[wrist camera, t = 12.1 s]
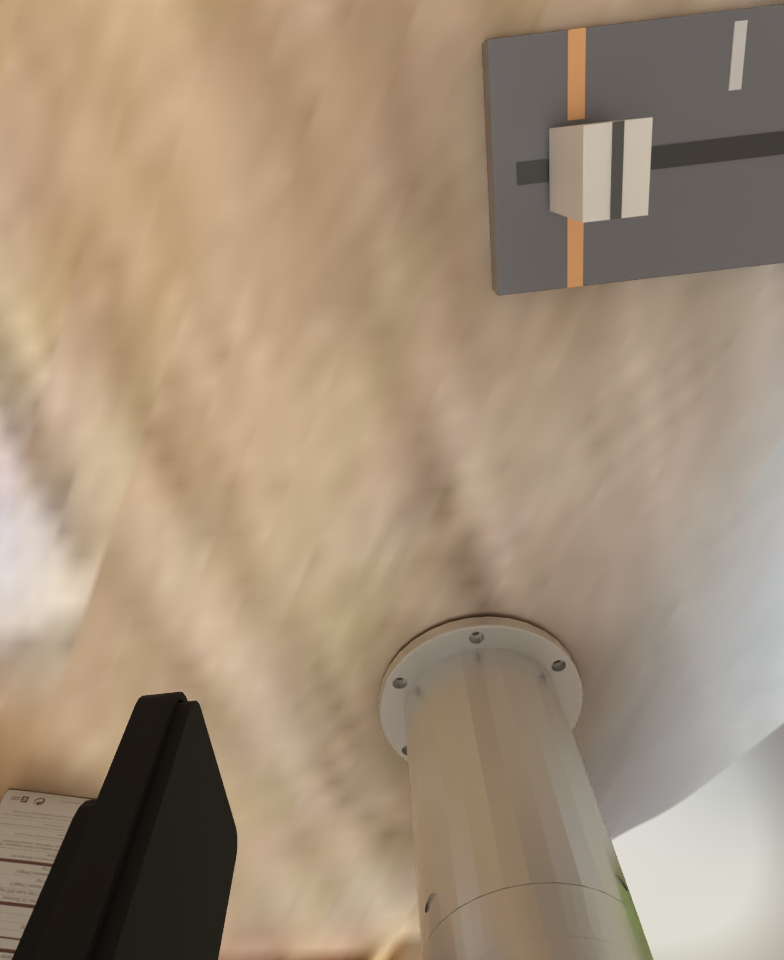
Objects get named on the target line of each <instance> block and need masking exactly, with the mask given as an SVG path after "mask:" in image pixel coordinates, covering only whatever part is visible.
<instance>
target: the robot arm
mask: <svg viewBox="0 0 784 960" xmlns="http://www.w3.org/2000/svg"><path fill="white" fill-rule="evenodd" d="M582 703H583V690H582V682H581V679H580V676H579V674H578V671H577V668H576V666H575V664H574V662H573V660H572V658H571V656H570V654H569V653H568V651H567V650H566V649H565V648H564V647H563V646H562V645H561V644H560V642H559V641H558V640H556V639H555V638H554V637H552V636H551V635H549V634H548V633H547V632H545V631H544V630H542V629H540V628H537V627H535V626H533V625H531V624H529V623H526V622H522V621H518V620H514V619H510V618H501V617H490V616H488V617H474V618H466V619H462V620H457V621H453V622H449V623H446V624H444V625H441V626H439V627H436V628H434V629H431V630H429V631H427V632H426V633H424V634H422V635H421V636H419V637H418V638H416V639H414V640H413V641H412V642H411V643H409V644H408V645H407V646H406V647H405V648H404V649H403V650H401V651H400V652H399V654H398V655H397V656H396V657H395V659H394V660H393V661H392V663H391V664H390V665H389V667H388V669H387V671H386V673H385V675H384V677H383V679H382V683H381V688H380V692H379V716H380V723H381V728H382V730H383V732H384V735H385V737H386V739H387V741H388V742H389V744H390V745H391V746H392V748H393V749H394V751H395V752H396V753H397V754H398V755H399V756H401V757H402V758H403V759H404V760H405V761H406V762H407V763H408V772H409V785H410V799H411V813H412V826H413V840H414V854H415V867H416V881H417V895H418V908H419V922H420V936H421V949H422V960H653V957H652V954H651V952H650V949H649V946H648V943H647V940H646V938H645V935H644V932H643V929H642V926H641V923H640V921H639V918H638V915H637V912H636V909H635V906H634V904H633V901H632V898H631V895H630V893H629V890H628V887H627V884H626V881H625V878H624V876H623V873H622V870H621V867H620V865H619V862H618V859H617V856H616V853H615V851H614V848H613V845H612V842H611V839H610V836H609V834H608V831H607V828H606V825H605V822H604V820H603V817H602V814H601V811H600V808H599V805H598V803H597V800H596V797H595V794H594V791H593V789H592V786H591V783H590V780H589V777H588V775H587V772H586V769H585V766H584V763H583V761H582V758H581V755H580V752H579V749H578V747H577V744H576V741H575V738H574V735H573V733H572V731H573V730H574V728H575V727H576V724H577V722H578V719H579V716H580V714H581V710H582ZM236 854H237V831H236V826H235V823H234V819H233V816H232V813H231V809H230V806H229V802H228V799H227V796H226V792H225V789H224V785H223V782H222V779H221V775H220V772H219V768H218V765H217V762H216V758H215V755H214V751H213V748H212V745H211V741H210V738H209V734H208V731H207V728H206V724H205V721H204V717H203V714H202V711H201V707H200V705H199V703H198V702H197V701H187V698H186V696H185V695H184V693H183V692H173V693H164V694H155V695H146V696H142V697H140V698H139V699H138V701H137V703H136V705H135V707H134V710H133V712H132V715H131V717H130V720H129V722H128V724H127V727H126V729H125V732H124V734H123V737H122V739H121V742H120V744H119V747H118V749H117V752H116V754H115V756H114V759H113V761H112V764H111V766H110V769H109V771H108V774H107V776H106V779H105V781H104V783H103V786H102V788H101V791H100V793H99V796H98V798H97V799H91V800H87V801H85V802H84V803H83V804H82V805H81V806H80V807H79V808H78V809H77V811H76V813H75V815H74V817H73V818H72V821H71V823H70V825H69V828H68V830H67V832H66V835H65V837H64V839H63V842H62V844H61V846H60V849H59V851H58V853H57V856H56V858H55V860H54V863H53V865H52V867H51V869H50V872H49V874H48V876H47V879H46V881H45V883H44V886H43V888H42V890H41V893H40V895H39V897H38V900H37V902H36V904H35V907H34V909H33V911H32V914H31V916H30V918H29V920H28V923H27V925H26V927H25V930H24V932H23V934H22V937H21V939H20V941H19V944H18V946H17V948H16V951H15V953H14V955H13V958H12V960H218V956H219V951H220V945H221V939H222V934H223V928H224V923H225V917H226V911H227V906H228V900H229V894H230V889H231V883H232V878H233V872H234V866H235V861H236Z"/></svg>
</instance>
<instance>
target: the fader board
mask: <svg viewBox="0 0 784 960" xmlns="http://www.w3.org/2000/svg"><path fill="white" fill-rule="evenodd" d="M482 55H483V78H484V101H485V124H486V147H487V170H488V193H489V216H490V239H491V262H492V285H493V290H494V291H495V293H496V294H497V295H498V296H499V295H508V294H516V293H525V292H534V291H542V290H551V289H560V288H571V287H580V286H586V285H594V284H603V283H611V282H620V281H629V280H637V279H646V278H655V277H663V276H672V275H681V274H689V273H698V272H707V271H715V270H724V269H733V268H741V267H750V266H758V265H767V264H776V263H784V4H779V5H771V6H762V7H754V8H746V9H737V10H729V11H721V12H712V13H704V14H696V15H687V16H679V17H671V18H662V19H654V20H646V21H637V22H629V23H621V24H612V25H604V26H596V27H587V28H577V29H569V30H562V31H554V32H546V33H537V34H529V35H521V36H512V37H504V38H496V39H488V40H487V41H485V42H484V43H483V44H482ZM650 117H653V123H652V143H651V164H650V184H649V205H648V215H645V216H636V217H628V218H621V219H613V220H602V221H593V222H585V223H582V222H579V221H576V220H573V219H571V218H568V217H565V216H562V215H559V214H557V213H554V212H551V211H550V180H549V128H556V127H565V126H573V125H582V124H590V123H598V122H607V121H617V120H628V119H639V118H650Z"/></svg>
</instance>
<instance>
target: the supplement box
mask: <svg viewBox="0 0 784 960" xmlns="http://www.w3.org/2000/svg"><path fill="white" fill-rule="evenodd" d="M87 800H91V799H86V798H78V797H71V796H63V795H55V794H47V793H39V792H30V791H21V790H8V791H7V792H6V793H5V795H4V797H3V799H2V801H1V803H0V960H12V958H13V955H14V953H15V951H16V948H17V946H18V944H19V941H20V939H21V937H22V934H23V932H24V930H25V927H26V925H27V923H28V920H29V918H30V916H31V914H32V911H33V909H34V907H35V904H36V902H37V900H38V897H39V895H40V893H41V890H42V888H43V886H44V883H45V881H46V879H47V876H48V874H49V872H50V869H51V867H52V865H53V863H54V860H55V858H56V856H57V853H58V851H59V849H60V846H61V844H62V842H63V839H64V837H65V835H66V832H67V830H68V828H69V825H70V823H71V821H72V818H73V817H74V815H75V813H76V811H77V809H78V808H79V807H80V806H81V805H82V804H83V803H84V802H85V801H87Z"/></svg>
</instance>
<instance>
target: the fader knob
mask: <svg viewBox="0 0 784 960" xmlns="http://www.w3.org/2000/svg"><path fill="white" fill-rule="evenodd" d="M652 123H653V117H650V118H639V119H628V120H617V121H607V122H598V123H590V124H582V125H573V126H565V127H556V128H549V180H550V211H551V212H554V213H557V214H559V215H562V216H565V217H568V218H571V219H573V220H576V221H579V222H582V223H585V222H593V221H602V220H613V219H621V218H628V217H636V216H645V215H648V205H649V184H650V164H651V143H652Z"/></svg>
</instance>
